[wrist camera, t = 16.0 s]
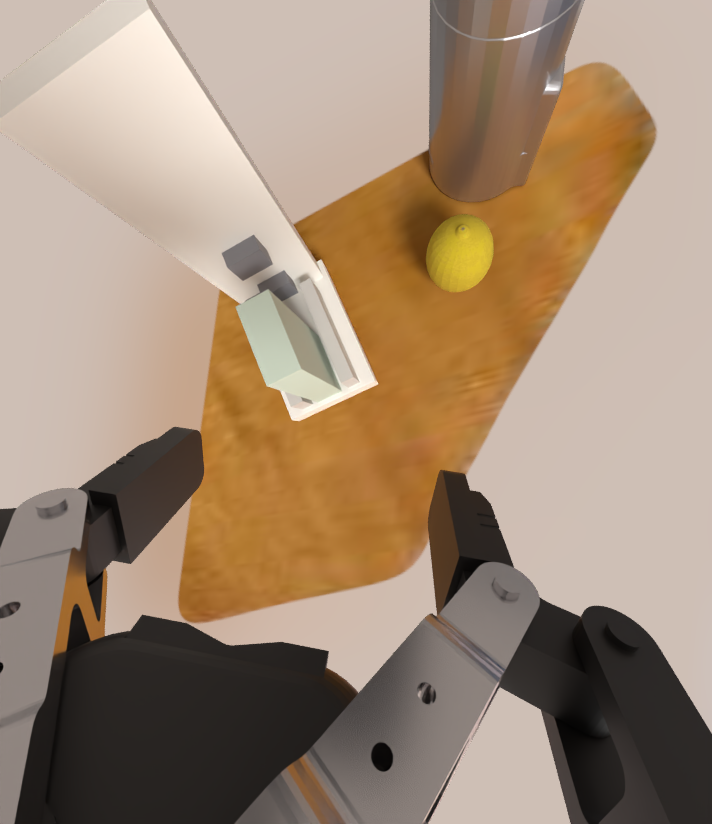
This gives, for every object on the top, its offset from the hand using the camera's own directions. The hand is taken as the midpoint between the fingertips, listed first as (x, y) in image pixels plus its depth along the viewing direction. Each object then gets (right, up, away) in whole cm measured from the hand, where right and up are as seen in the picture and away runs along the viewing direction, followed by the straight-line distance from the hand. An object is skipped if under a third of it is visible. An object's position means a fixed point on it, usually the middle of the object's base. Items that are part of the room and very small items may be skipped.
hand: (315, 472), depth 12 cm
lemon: (+11, +15, +22) cm, 29 cm away
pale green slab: (-2, +6, +22) cm, 23 cm away
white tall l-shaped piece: (-3, +9, +25) cm, 26 cm away
